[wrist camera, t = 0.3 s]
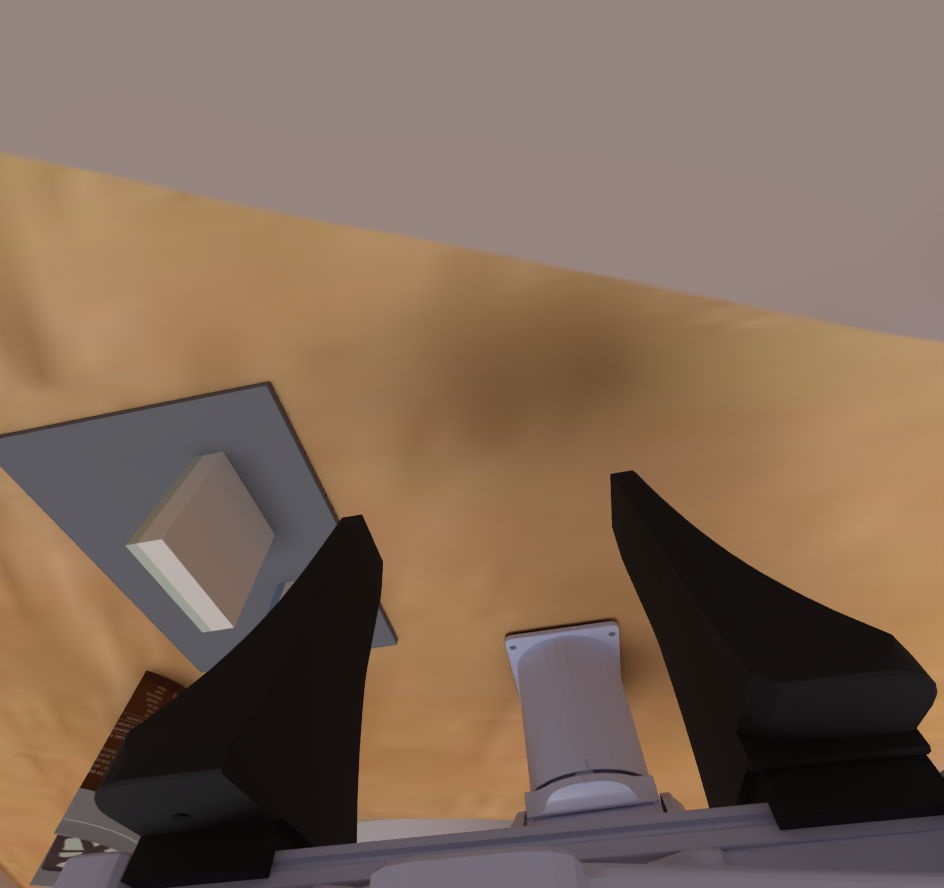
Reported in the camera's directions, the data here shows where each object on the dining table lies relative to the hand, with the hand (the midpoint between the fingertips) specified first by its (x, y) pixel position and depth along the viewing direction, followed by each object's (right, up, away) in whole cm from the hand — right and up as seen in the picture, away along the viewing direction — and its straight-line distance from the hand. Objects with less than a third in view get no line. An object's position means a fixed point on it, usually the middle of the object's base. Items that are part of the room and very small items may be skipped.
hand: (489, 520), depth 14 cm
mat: (-15, -5, +15) cm, 22 cm away
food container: (-25, -19, +25) cm, 40 cm away
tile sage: (-13, -1, +12) cm, 18 cm away
